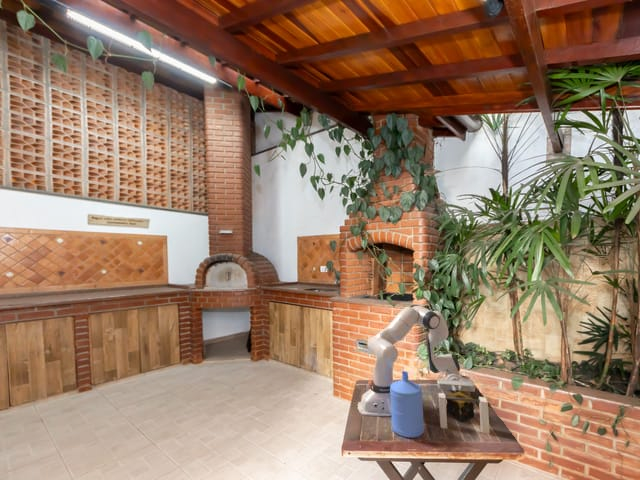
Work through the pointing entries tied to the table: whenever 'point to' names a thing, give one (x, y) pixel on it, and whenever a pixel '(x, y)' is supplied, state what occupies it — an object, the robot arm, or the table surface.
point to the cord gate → (482, 400)
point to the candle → (460, 407)
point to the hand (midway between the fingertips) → (457, 391)
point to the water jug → (406, 407)
